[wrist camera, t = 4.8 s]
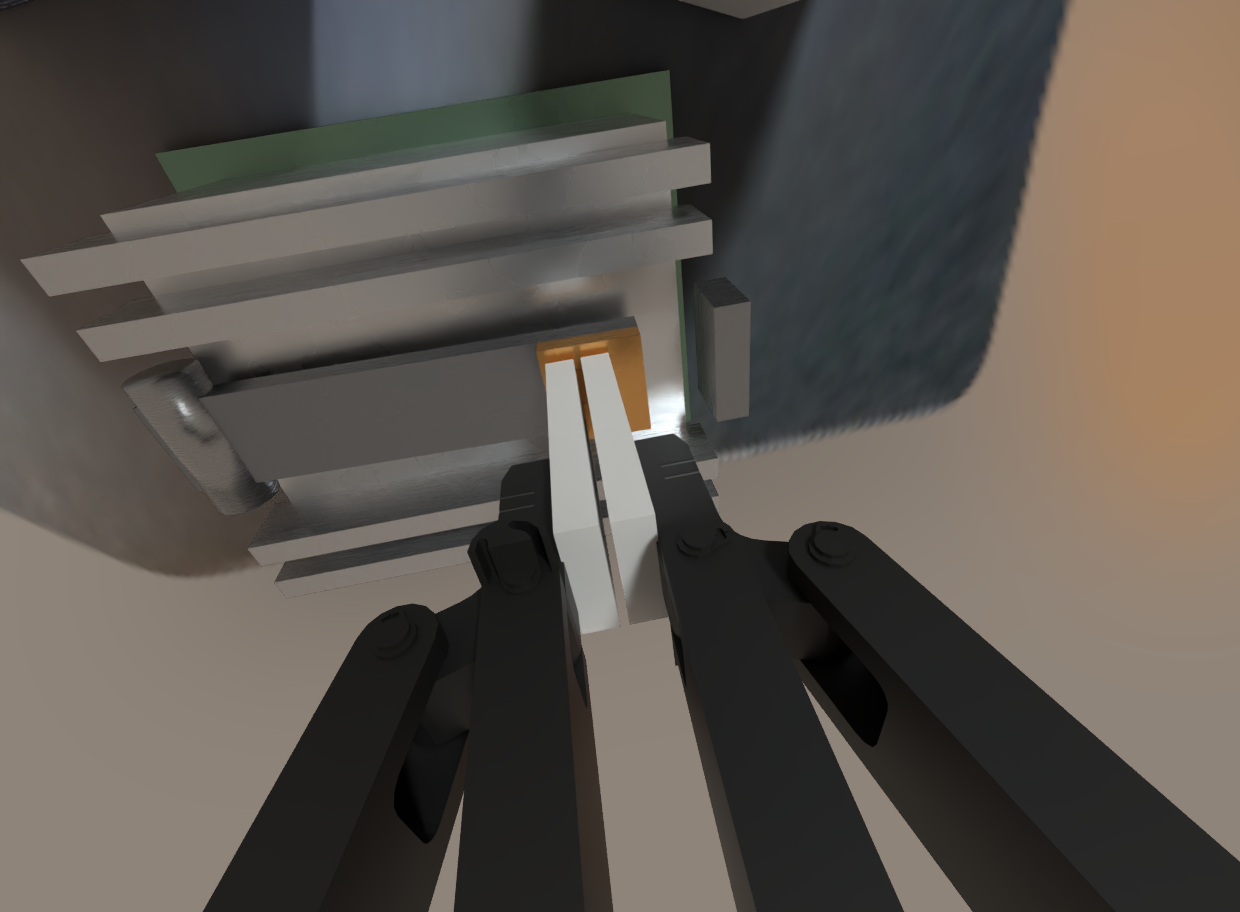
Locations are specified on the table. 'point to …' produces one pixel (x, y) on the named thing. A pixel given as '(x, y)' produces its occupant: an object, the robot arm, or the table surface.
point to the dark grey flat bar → (371, 408)
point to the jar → (740, 6)
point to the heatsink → (423, 287)
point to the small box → (12, 3)
